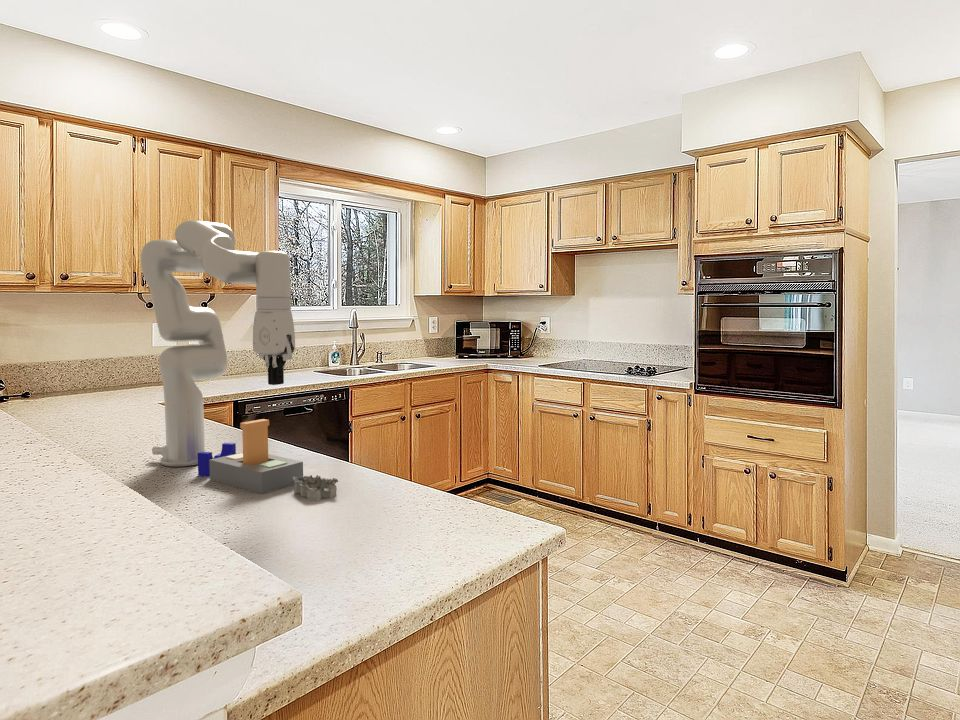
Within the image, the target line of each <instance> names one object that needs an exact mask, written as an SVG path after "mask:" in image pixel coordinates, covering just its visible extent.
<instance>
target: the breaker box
mask: <svg viewBox="0 0 960 720" xmlns="http://www.w3.org/2000/svg"><path fill="white" fill-rule="evenodd" d="M209 464H210V476H209V480H210V481H213V482H218V483H221V484H224V485H227V486H231V487H235V488H239V489H243V490H246V491H250V492H253V493H256V494H260V495H263V494H265V493H266V494H267V493H270V492H272V491H276V490H280V489H283V488H287V487H291V486H293V485H294V486H295V481H294V479H293V477H301V476H303V477H304V461H302V460H297V459H292V458H287V457H284V456H278V455H273V454H269V453H268V462H264V463H260V464H255V465H248V464H244V463H243V451H242V452H238V453H236V454H233V455H229V456H224V457H219V458H215V459H210V460H209Z"/></svg>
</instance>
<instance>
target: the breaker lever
mask: <svg viewBox="0 0 960 720" xmlns="http://www.w3.org/2000/svg"><path fill="white" fill-rule="evenodd" d="M239 424H240V429H241V430H242V431H241V433H242V436H241V437H242V452H243V463H244V464H248V465H255V464H260V463H264V462H268V454H269V435H268V434H269V429H268V428H269V427H268V426H270V420H269V419H265V418H262V419H256V420H249V421H244V422H240V423H239Z"/></svg>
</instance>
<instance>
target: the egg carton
mask: <svg viewBox="0 0 960 720" xmlns="http://www.w3.org/2000/svg"><path fill="white" fill-rule="evenodd" d="M293 479H294V481H295V484H294V493H295V494H296V493H299V494H300V496H301V497H306V499H307V500H308V501H311V500H313V501H314V500H315V501H320V500H321V498H334V497H335V496H336V495H337V490H338V489H337V485H336V484H337V483H339V480H338V479H337V478H335V477H333V478H325V477H321V476H320V475H316V476H314V477H313V475H312V474H310V475H309V476H308V475H303V476H301V477H293ZM318 488H320V489H318Z"/></svg>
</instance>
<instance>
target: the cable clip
mask: <svg viewBox="0 0 960 720" xmlns="http://www.w3.org/2000/svg"><path fill="white" fill-rule="evenodd" d="M236 446H237V444H236V443H235V442H224V443H221V452H220V453H219V454H218V453H217V454H215V455H214V457H213V452H212V451H205V452H199V453H198V465H197V472H198V473H197V475H198V477H209V478H210V464H209V460H210V459H215V458H219V457H224V456H229V455H233V454H237V449H236V448H237V447H236Z"/></svg>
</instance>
